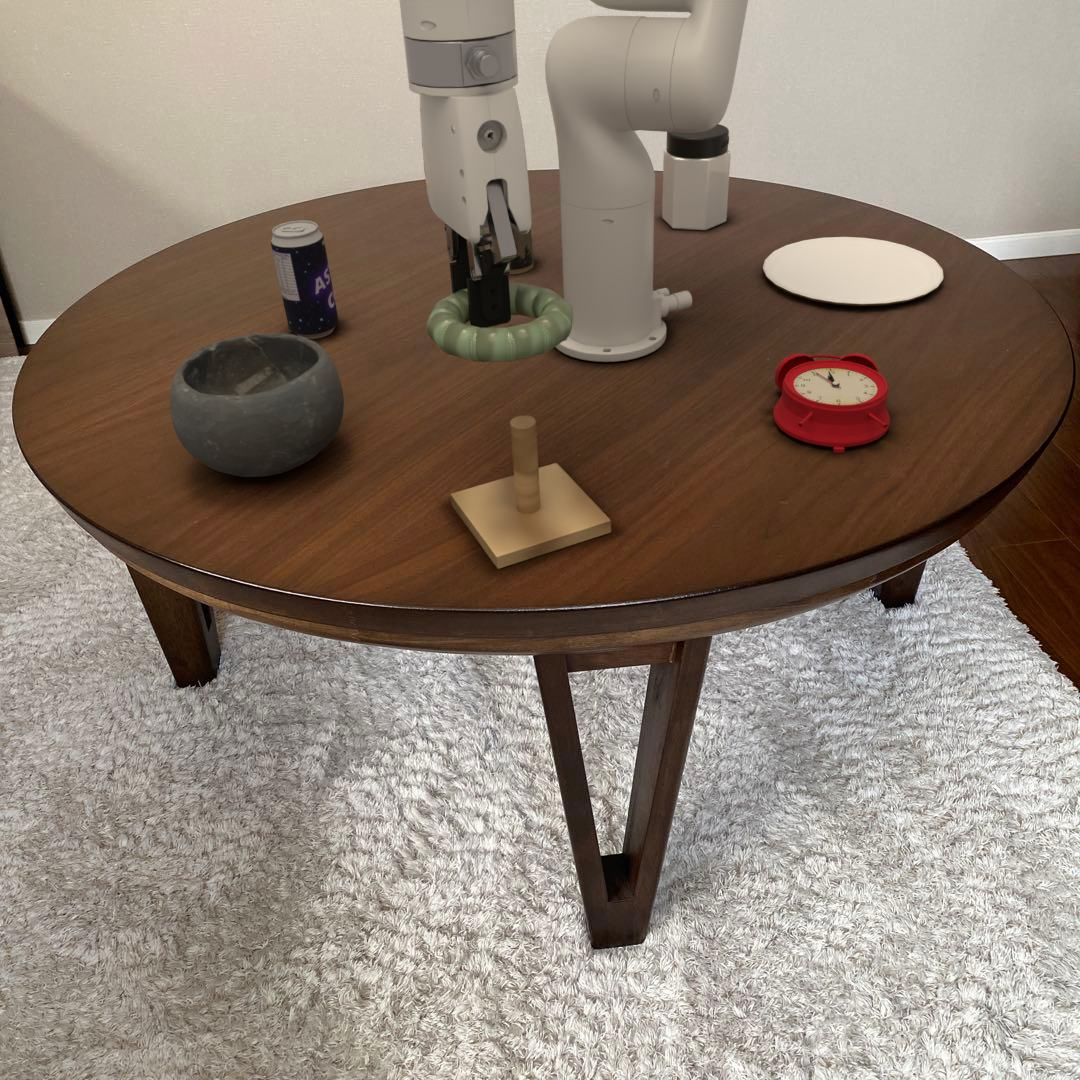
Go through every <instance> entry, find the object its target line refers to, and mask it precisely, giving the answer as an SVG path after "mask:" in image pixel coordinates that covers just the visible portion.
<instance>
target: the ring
mask: <svg viewBox="0 0 1080 1080" xmlns="http://www.w3.org/2000/svg"><path fill="white" fill-rule="evenodd" d="M509 292H510V308H511V316H515V315H517V316H523V317H528V318H532V319H534V320H531V321H529V322H525V323H521V324H516V325H511V326H508V327H507V326H504V327H501V326H500V327H495V326H492V327H487V328H480V327H476V326H472V325H471V324H469V323H470V315H469V304H468V293H467V288H466V289H462V290H459V291H457V292H455V293H453V294H452V293H451V294H449V295H448V296H446V297H444V298H443V299H441V300H439V301H437V302H436V303H435V304H434V306H433V307H432V310H431V312H430V314H429V317H428V319H427V322H426V331H427V335H428V337H429V338H430V339H431V340H432V341H433V342H434V344H436V345H437V346H438V348H439V349H441V350H442V352H444V353H446V354H447V355H451V356H454V357H457V358H461V359H464V360H468V361H472V362H477V363H480V362H481V363H486V362H488V363H489V362H490V363H491V362H492V363H497V362H498V363H499V362H501V363H503V362H504V363H505V362H507V363H509V362H515V361H516V362H517V361H519V360H524V359H528V358H532V357H535V356H540V355H544V354H546V353H548V352H549V351H550V350H552V349H554V348H556V347H555V346H557V345H558V344H560V343H561V342H563V341H564V340H565V339H566V338H567V337H568V336H569V334H570V332H571V329H572V321H573V310H572V307H571V305H570V304H569V303H568V302H567V301H566V300H565V299H564V297H562V296H561V295H559V294H558V293H557V292H555V291H554V290H552V289H550V288H547V287H543V286H536V285H533V284H528V283H523V282H509ZM468 322H469V323H468ZM467 323H468V324H467Z"/></svg>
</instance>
